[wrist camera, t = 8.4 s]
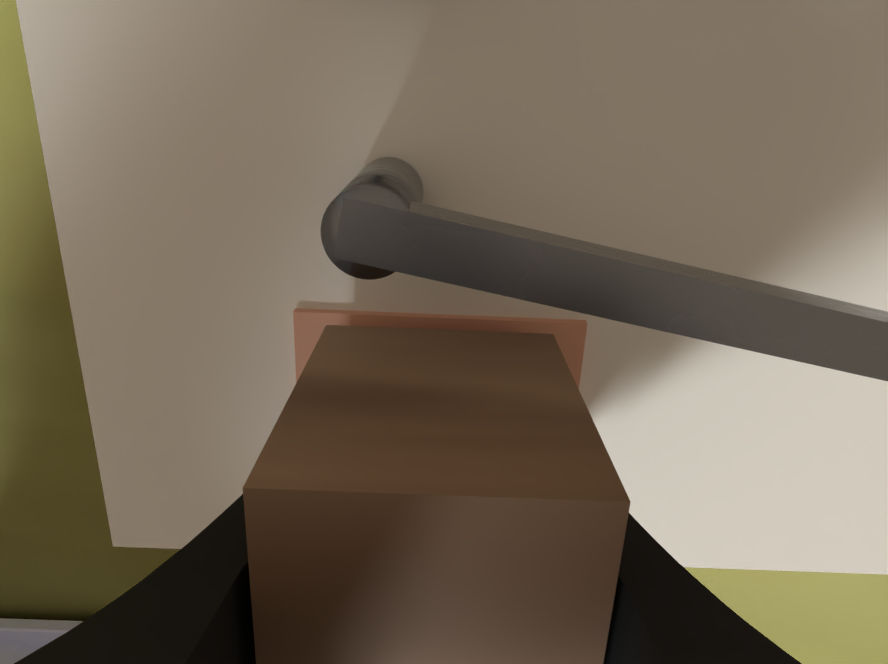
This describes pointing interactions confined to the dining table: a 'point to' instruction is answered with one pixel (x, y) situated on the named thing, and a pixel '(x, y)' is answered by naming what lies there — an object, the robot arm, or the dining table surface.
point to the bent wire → (589, 276)
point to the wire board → (485, 195)
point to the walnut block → (433, 506)
